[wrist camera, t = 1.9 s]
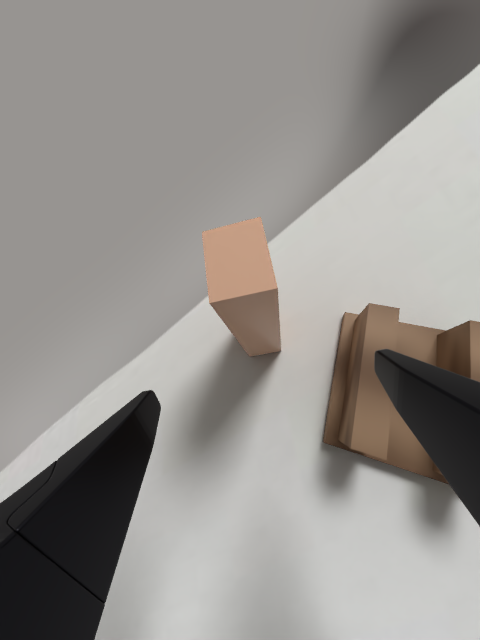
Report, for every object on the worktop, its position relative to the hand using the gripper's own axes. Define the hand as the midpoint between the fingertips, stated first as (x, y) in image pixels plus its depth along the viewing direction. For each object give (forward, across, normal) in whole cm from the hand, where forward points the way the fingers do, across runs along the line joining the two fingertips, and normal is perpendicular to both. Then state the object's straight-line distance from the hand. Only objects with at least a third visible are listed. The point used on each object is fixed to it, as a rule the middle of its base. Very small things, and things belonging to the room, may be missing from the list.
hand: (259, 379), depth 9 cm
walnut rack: (+7, -10, +9) cm, 15 cm away
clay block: (+12, 0, +4) cm, 13 cm away
